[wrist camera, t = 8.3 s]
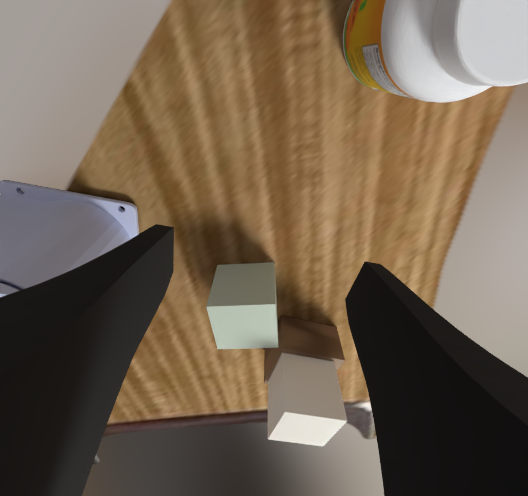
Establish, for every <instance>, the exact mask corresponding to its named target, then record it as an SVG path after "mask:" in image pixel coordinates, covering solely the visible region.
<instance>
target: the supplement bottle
mask: <svg viewBox="0 0 528 496" xmlns="http://www.w3.org/2000/svg"><path fill="white" fill-rule="evenodd" d="M343 51H344V56H345V60H346V63H347V65H348V67H349V69H350V71H351V73H352V74H353V76H354V77H355V78H356V79H357V80H358V81H359V82H360V83H362V84H363V85H365V86H367V87H370V88H372V89H375V90H379V91H383V92H388V93H392V94H396V95H401V96H405V97H409V98H414V99H418V100H422V101H427V102H452V101H458V100H462V99H465V98H468V97H471V96H474V95H476V94H478V93H480V92H482V91H484V90H486V89H488V88H490V87H492V86H512V85H518V84H522V83H526V82H528V0H353V1H352V3H351V5H350V8H349V10H348V13H347V16H346V20H345V24H344V29H343Z"/></svg>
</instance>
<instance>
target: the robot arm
mask: <svg viewBox="0 0 528 496" xmlns="http://www.w3.org/2000/svg"><path fill="white" fill-rule="evenodd" d="M20 188H21V189H22V190H23V191H24V192H23V191H22V190H21V189H20ZM0 193H1V195H0V496H82V494H83V491H84V488H85V485H86V482H87V479H88V476H89V473H90V470H91V467H92V464H93V461H94V458H95V456H96V453H97V450H98V447H99V444H100V442H101V439H102V436H103V433H104V431H105V428H106V425H107V422H108V420H109V417H110V414H111V412H112V409H113V406H114V404H115V401H116V398H117V396H118V393H119V391H120V388H121V386H122V383H123V381H124V378H125V376H126V373H127V370H128V368H129V365H130V363H131V361H132V358H133V356H134V354H135V352H136V350H137V348H138V346H139V344H140V342H141V340H142V338H143V336H144V334H145V332H146V330H147V328H148V327H149V325H150V323H151V321H152V319H153V317H154V315H155V313H156V311H157V309H158V307H159V305H160V303H161V301H162V299H163V297H164V295H165V293H166V290H167V288H168V285H169V282H170V279H171V276H172V273H173V247H174V227H169V226H163V225H157V224H156V225H154V226H152V227H150V228H149V229H147V230H145V231H144V232H142V233H140V234H139V227H138V213H137V207H136V206H135V205H134V204H133V203H130V202H125V201H119V200H114V199H108V198H103V197H97V196H92V195H86V194H81V193H75V192H70V191H64V190H59V189H53V188H48V187H42V186H37V185H31V184H25V183H20V182H14V181H9V180H3V181H0ZM120 206H122V207H124V208H125V210H123V209H121V207H120ZM345 301H346V309H347V316H348V322H349V326H350V330H351V333H352V337H353V340H354V343H355V347H356V350H357V353H358V357H359V360H360V363H361V367H362V370H363V373H364V377H365V380H366V384H367V388H368V392H369V397H370V402H371V408H372V413H373V418H374V424H375V430H376V436H377V442H378V448H379V455H380V463H381V471H382V478H383V486H384V495H385V496H528V378H527V377H526V376H524V375H523V374H521V373H520V372H518V371H517V370H515V369H513V368H512V367H510V366H509V365H507V364H506V363H504V362H503V361H501V360H500V359H498V358H497V357H495V356H494V355H492V354H491V353H489V352H488V351H486V350H485V349H484V348H482V347H481V346H480V345H478V344H477V343H475V342H474V341H473V340H471V339H470V338H468V337H467V336H466V335H464V334H463V333H462V332H460V331H459V330H458V329H457V328H455V327H454V326H453V325H452V324H450V323H449V322H448V321H447V320H445V319H444V318H443V317H442V316H440V315H439V314H438V313H437V312H435V311H434V310H433V309H432V308H431V307H430V306H429V305H427V304H426V303H425V302H424V301H423V300H422V299H421V298H419V297H418V296H417V295H416V294H415V293H414V292H413V291H411V290H410V289H409V288H408V287H407V286H406V285H405V284H404V283H402V282H401V281H400V280H399V279H398V278H397V277H396V276H394V275H393V274H392V273H391V272H390V271H388V270H387V269H386V268H385V267H383V266H382V265H380V264H376V263H371V262H364V264H363V266H362V268H361V270H360V272H359V274H358V276H357V278H356V280H355V282H354V284H353V285H352V287H351V289H350V291H349V293H348V295H347V297H346V299H345Z"/></svg>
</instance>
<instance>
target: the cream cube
mask: <svg viewBox="0 0 528 496" xmlns="http://www.w3.org/2000/svg"><path fill="white" fill-rule="evenodd" d="M346 422H347V417H346V413H345V408H344V404H343V399H342V395H341V390H340V385H339V381H338V376H337V372H336V367H335V363H334V361H328V360H322V359H316V358H310V357H305V356H299V355H293V354H287V353H282V354H281V356H280V359H279V361H278V363H277V365H276V367H275V369H274V371H273V373H272V375H271V377H270V379H269V381H268V439H270V440H278V441H285V442H293V443H301V444H309V445H317V446H324V445H325V444H326V443H327V442H328V441H329V440H330V439H331V438H332V436H333V435H334V434H335V433H336V432H337V431H338V430H339V429H340V428H341V427H342V426H343V425H344V424H345V423H346Z"/></svg>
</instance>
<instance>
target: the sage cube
mask: <svg viewBox="0 0 528 496" xmlns="http://www.w3.org/2000/svg"><path fill="white" fill-rule="evenodd" d="M206 307H207V311H208V315H209V318H210V322H211V326H212V329H213V333H214V337H215V340H216V344H217V348H218V349H244V348H278V320H277V295H276V279H275V262H270V263H248V264H226V265H217V268H216V272H215V276H214V280H213V283H212V287H211V291H210V295H209V299H208V302H207V306H206Z"/></svg>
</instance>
